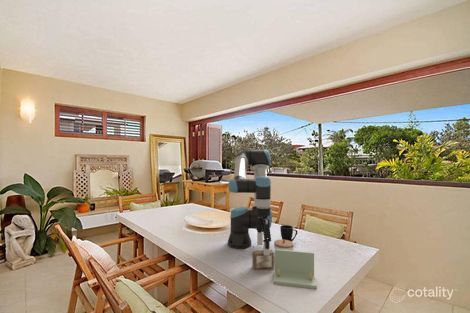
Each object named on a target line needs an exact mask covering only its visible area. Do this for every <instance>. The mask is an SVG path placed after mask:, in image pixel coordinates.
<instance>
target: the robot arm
mask: <svg viewBox="0 0 470 313" xmlns="http://www.w3.org/2000/svg"><path fill="white" fill-rule="evenodd" d="M271 158H272V157H271V154H270V151H269V150H268V149H263V148H262V149H259V148H258V149H257V148H256V149H255V148H254V149H253V148H251V149H250V148H249V149H243V150H242V151H240V152H239V153H237V154H236V156H235V157H234V172H233V178H231V179H229V180H228V192H229V193H235V194H239V193H243V194H244V193H245V194H254V195H253V197H254V198H253V199H254V200H253V201H254V202H253V203H254V204H253V205H252V206H251V209H250V208H249V207H248V206H240V207H235V208H233V209H231V211H230V216H229V217H230V232H229V235H228V236H229V237H228V240H227V246H228V247H230V248H232V249H237V250H242V249H248V248H250V247H251V246H252V240H251V239H252V238H251V236H250V233H249V229H250V230H251V229H254V230H256V231H257V236H256V238H257V240H256V241H257V242H256V243H257V246H263V250H264V255H270V250H271V248H270V246H271V242H272V236H271V235H272V234H271V229H270V228H271V226H272V222H273V210H272V209H271V203H272V199H271V196H272V195H271V192H272V190H271V189H272V188H271V184H272V182H271V181H272V180H271V177H270V176H267V174H268V173H267V172H268V171H267V170H269V168H270V166H271V165H272V161H271V160H272V159H271ZM248 166H249V167H251V169H252V170H253V178H252V179H251V178H250V179H249V178H247V170H248V169H247V168H248Z"/></svg>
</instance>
